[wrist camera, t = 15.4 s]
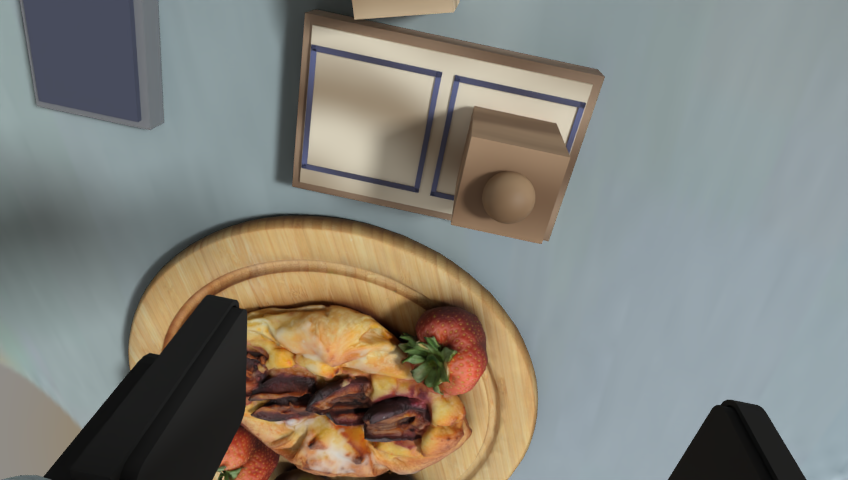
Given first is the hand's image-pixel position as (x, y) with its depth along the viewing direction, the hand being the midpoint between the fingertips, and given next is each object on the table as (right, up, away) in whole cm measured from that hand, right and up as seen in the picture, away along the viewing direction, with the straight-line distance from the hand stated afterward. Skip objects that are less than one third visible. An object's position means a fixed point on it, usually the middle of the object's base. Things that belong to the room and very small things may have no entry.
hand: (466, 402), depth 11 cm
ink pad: (-20, +15, +21) cm, 33 cm away
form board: (0, +10, +22) cm, 24 cm away
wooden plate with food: (-8, -9, +33) cm, 35 cm away
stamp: (+4, +8, +20) cm, 22 cm away
